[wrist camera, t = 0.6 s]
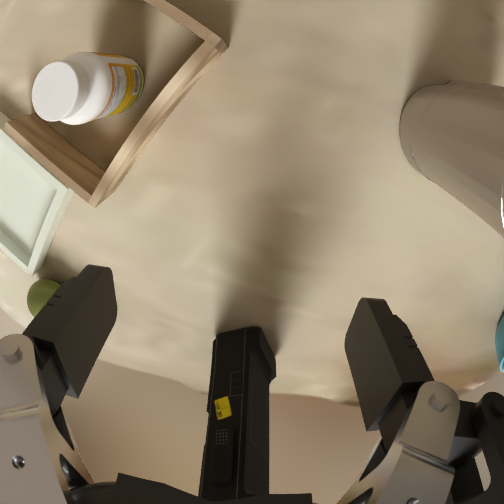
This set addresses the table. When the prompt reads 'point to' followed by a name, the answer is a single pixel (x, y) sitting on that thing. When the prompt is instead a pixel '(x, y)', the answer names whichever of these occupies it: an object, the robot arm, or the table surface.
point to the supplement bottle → (86, 87)
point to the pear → (40, 294)
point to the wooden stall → (105, 183)
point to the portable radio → (238, 417)
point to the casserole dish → (500, 343)
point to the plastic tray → (27, 204)
